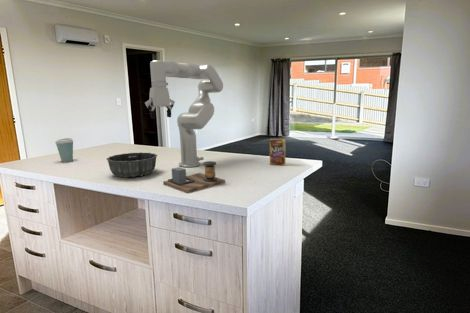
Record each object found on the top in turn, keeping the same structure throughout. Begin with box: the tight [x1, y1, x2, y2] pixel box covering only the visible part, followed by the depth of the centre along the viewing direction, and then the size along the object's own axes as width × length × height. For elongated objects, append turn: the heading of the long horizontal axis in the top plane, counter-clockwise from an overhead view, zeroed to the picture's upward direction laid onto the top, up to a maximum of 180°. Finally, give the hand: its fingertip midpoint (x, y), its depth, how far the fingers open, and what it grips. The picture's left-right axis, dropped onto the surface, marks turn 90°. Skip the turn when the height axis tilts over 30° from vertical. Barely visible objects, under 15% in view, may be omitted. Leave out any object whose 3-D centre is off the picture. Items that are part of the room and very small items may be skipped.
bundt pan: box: [106, 151, 158, 178], centre depth 177 cm, size 26×26×10 cm
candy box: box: [269, 138, 287, 166], centre depth 190 cm, size 9×4×15 cm, turn 71°
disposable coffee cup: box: [54, 137, 74, 163], centre depth 214 cm, size 11×11×15 cm
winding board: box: [162, 160, 226, 194], centre depth 154 cm, size 22×20×10 cm
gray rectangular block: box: [171, 166, 187, 183], centre depth 154 cm, size 4×6×6 cm, turn 43°
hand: (161, 117), depth 172 cm, fingers open, 9 cm apart
